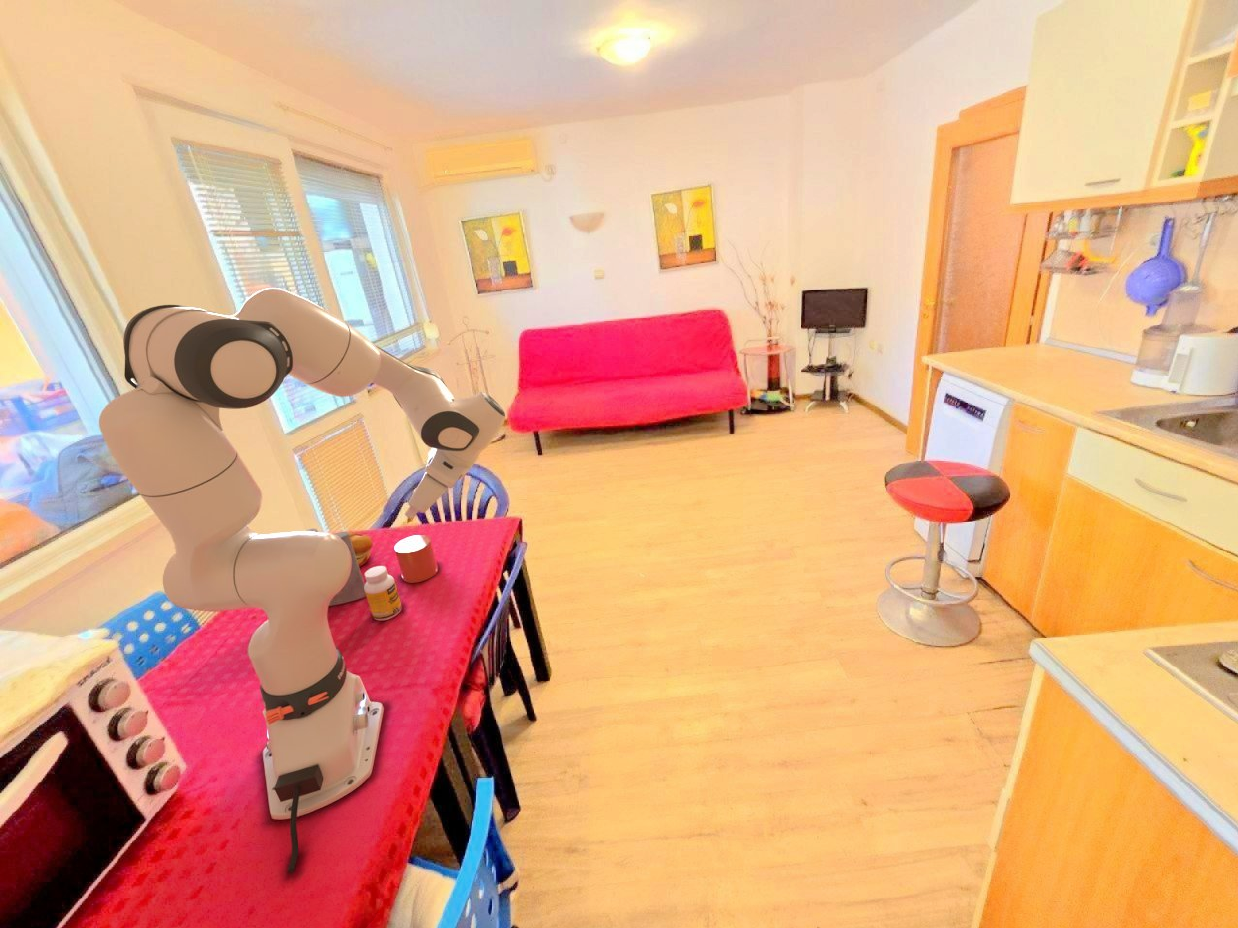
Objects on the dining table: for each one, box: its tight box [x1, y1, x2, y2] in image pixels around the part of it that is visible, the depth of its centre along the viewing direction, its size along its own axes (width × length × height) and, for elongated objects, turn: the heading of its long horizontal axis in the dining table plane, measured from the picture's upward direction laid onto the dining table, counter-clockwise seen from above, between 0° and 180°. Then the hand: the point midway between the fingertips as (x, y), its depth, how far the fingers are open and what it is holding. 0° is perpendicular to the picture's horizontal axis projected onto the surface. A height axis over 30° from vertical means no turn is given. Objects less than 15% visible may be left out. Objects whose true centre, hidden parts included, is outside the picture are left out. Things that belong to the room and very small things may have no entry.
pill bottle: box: [364, 565, 403, 621], centre depth 118 cm, size 6×6×12 cm
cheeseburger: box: [347, 531, 374, 568], centre depth 142 cm, size 10×11×10 cm
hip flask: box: [304, 528, 366, 607], centre depth 122 cm, size 16×4×20 cm, turn 102°
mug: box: [394, 534, 439, 584], centre depth 134 cm, size 12×9×9 cm
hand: (414, 505), depth 111 cm, fingers open, 8 cm apart
